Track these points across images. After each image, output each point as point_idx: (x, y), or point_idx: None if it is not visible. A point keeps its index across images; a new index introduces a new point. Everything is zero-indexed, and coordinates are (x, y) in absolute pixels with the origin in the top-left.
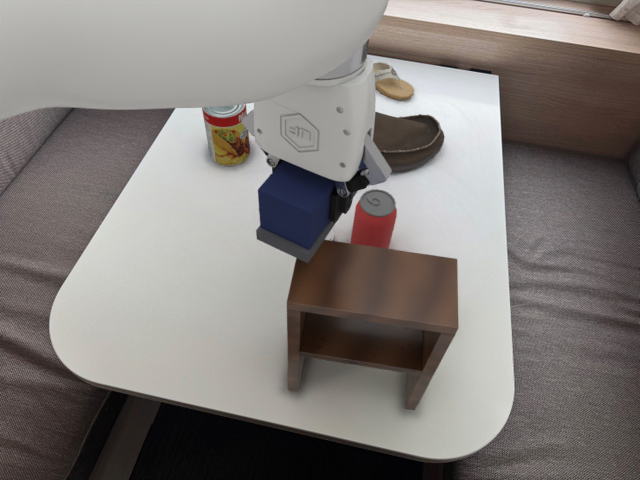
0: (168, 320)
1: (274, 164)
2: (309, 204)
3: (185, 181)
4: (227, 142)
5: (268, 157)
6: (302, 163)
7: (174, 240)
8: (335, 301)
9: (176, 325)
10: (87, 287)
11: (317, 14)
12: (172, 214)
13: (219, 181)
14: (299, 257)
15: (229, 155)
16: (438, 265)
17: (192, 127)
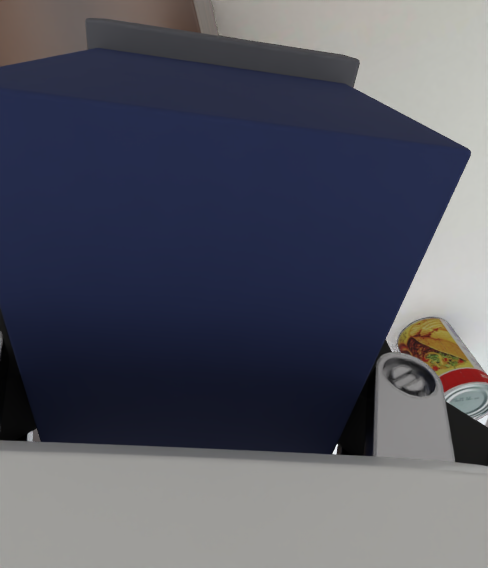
0: (443, 40)
1: (387, 369)
2: (15, 172)
3: (474, 279)
4: (437, 350)
5: (437, 399)
6: (136, 522)
7: (468, 185)
8: (51, 22)
9: (427, 36)
10: None
11: None
12: (481, 224)
13: (426, 295)
14: (141, 24)
15: (426, 333)
16: None
17: (484, 353)
